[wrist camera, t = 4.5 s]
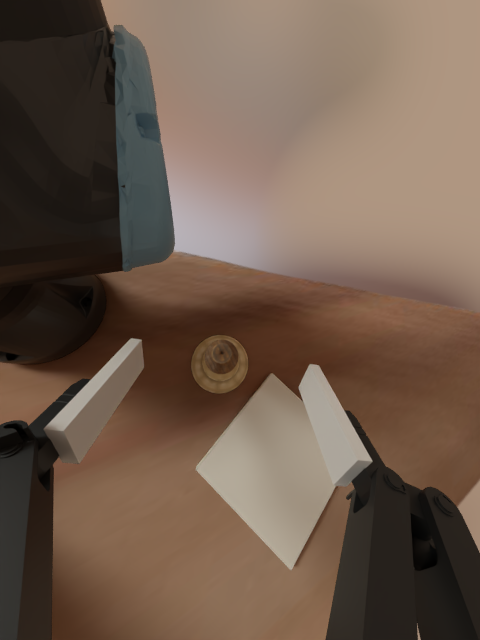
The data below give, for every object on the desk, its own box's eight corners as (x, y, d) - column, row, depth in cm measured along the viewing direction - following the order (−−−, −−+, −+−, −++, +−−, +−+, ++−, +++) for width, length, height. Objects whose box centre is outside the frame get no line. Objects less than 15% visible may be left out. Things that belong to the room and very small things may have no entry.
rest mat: (196, 466, 22) (195, 469, 21) (270, 373, 27) (272, 373, 26) (288, 563, 21) (291, 570, 20) (350, 447, 25) (355, 449, 24)
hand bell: (234, 403, 25) (263, 452, 10) (180, 378, 25) (123, 389, 10) (256, 348, 27) (306, 319, 12) (207, 326, 27) (195, 269, 12)
